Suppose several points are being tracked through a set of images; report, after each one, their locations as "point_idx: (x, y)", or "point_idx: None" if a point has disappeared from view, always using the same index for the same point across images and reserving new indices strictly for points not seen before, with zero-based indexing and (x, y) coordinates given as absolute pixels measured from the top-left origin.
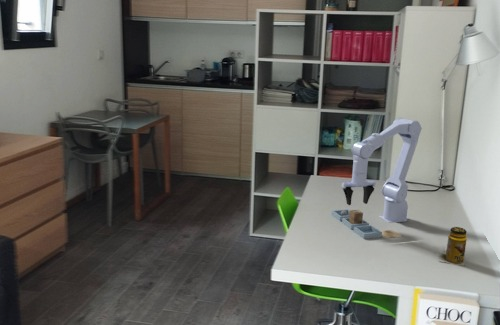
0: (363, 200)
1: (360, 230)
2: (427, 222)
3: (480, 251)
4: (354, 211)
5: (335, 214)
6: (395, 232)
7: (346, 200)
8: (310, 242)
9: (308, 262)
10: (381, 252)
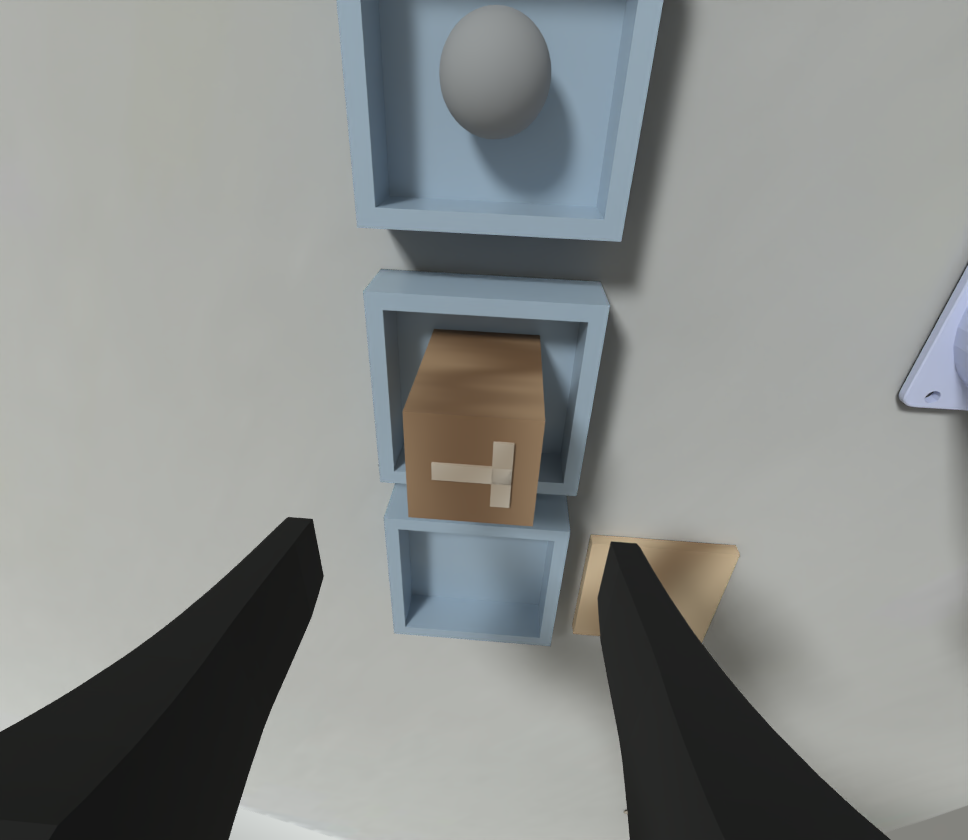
0: (616, 571)
1: (399, 586)
2: None
3: (926, 813)
4: (444, 470)
5: (346, 59)
6: (714, 592)
7: (251, 555)
8: (12, 530)
9: (7, 686)
10: (419, 711)
